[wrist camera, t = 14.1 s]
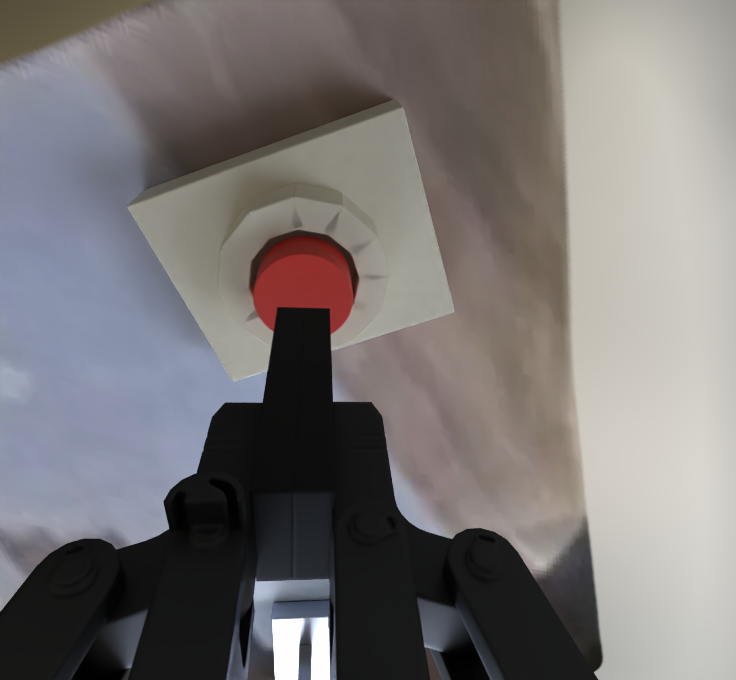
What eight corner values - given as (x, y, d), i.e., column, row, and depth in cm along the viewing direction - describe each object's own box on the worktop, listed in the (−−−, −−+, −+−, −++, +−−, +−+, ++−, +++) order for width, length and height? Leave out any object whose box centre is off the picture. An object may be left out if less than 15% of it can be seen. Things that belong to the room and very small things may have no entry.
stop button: (332, 222, 18) (333, 239, 17) (362, 303, 20) (366, 325, 18) (242, 253, 18) (235, 272, 17) (280, 329, 20) (277, 353, 19)
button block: (395, 98, 19) (411, 113, 16) (445, 290, 24) (465, 333, 21) (143, 189, 20) (108, 221, 17) (238, 356, 25) (226, 407, 22)
